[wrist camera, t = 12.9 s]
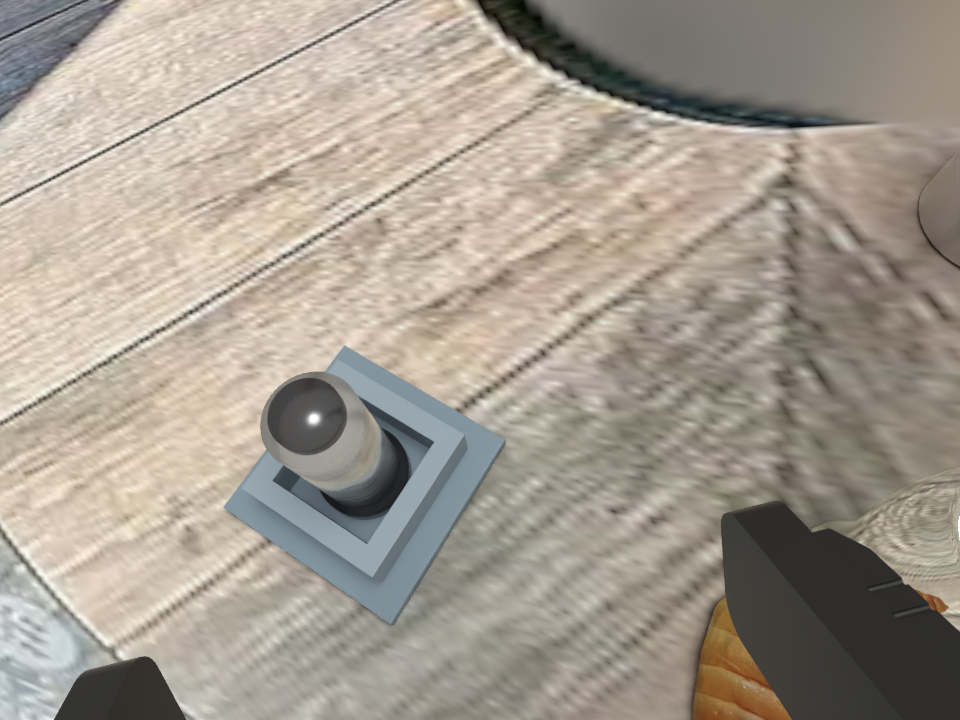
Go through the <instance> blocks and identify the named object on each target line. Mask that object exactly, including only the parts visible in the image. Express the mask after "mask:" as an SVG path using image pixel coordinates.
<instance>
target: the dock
mask: <svg viewBox="0 0 960 720" xmlns="http://www.w3.org/2000/svg"><path fill="white" fill-rule="evenodd" d="M325 373H330V374H333V375H336V376H338V377H340V378H341V379H343V380H344V381H346V382H347V383H348V384H349V385H350V386H351V388H352V389H353V390H354V391H355V393H356V394H357V396H358V397H359V398H360V400H361V401H362V402H363V404H364V405H365V407H366V408H367V409H368V411H369V412H370V414H371V415H372V416H373V418H374V419H375V420H376V422H377V423H378V425H379V426H380V427H381V428H383V429H385V430H387V431H389V432H390V433H392V434H393V435H394V436H395V437H396V438H397V439H398V440H399V442H400V443H401V445H402V446H403V448H404V449H405V451H406V452H407V454H408V457H409V459H410V463H411V469H412V475H411V478H410V480H409V481H408V483H407V484H406V486H405V487H404V489H403V490H402V492H401V493H400V495H399V496H398V498H397V499H396V501H395V502H394V504H393V505H392V507H391V508H390V510H389V512H388V513H387V514H385V515H383V516H381V517H378V518H374V519H368V520H361V519H355V518H351V517H348V516H346V515H344V514H342V513H341V512H339V511H338V510H336V509H335V508H333V507H332V506H331V505H330V504H329V503H328V502H327V501H326V500H325V499H324V497H323V496H322V494H321V492H320V489H318V488H317V487H315V486H314V485H312V484H311V483H309V482H308V481H306V480H305V479H304V478H302V477H301V476H299V475H298V474H296V473H295V472H293V471H292V470H290V469H289V468H287V467H286V466H284V465H283V464H281V463H280V462H278V461H277V460H276V459H274V458H273V457H272V456H271V455H270V453H269V452H268V450H266V451H265V452H264V454H263V455H262V456H261V458H260V459H259V460H258V462H257V463H256V464H255V466H254V467H253V468H252V470H251V471H250V472H249V474H248V475H247V476H246V478H245V479H244V480H243V482H242V483H241V484H240V486H239V487H238V488H237V490H236V491H235V492H234V494H233V495H232V496H231V498H230V499H229V500H228V502H227V503H226V504H225V506H224V507H223V508H225V509H226V510H228V511H229V512H231V513H232V514H233V515H235V516H236V517H238V518H239V519H241V520H242V521H243V522H245V523H246V524H248V525H249V526H251V527H252V528H253V529H255V530H256V531H258V532H259V533H261V534H262V535H263V536H265V537H266V538H268V539H269V540H271V541H272V542H273V543H275V544H276V545H278V546H279V547H281V548H282V549H283V550H285V551H286V552H288V553H289V554H291V555H292V556H293V557H295V558H296V559H298V560H299V561H301V562H302V563H303V564H305V565H306V566H308V567H309V568H311V569H312V570H313V571H315V572H316V573H318V574H319V575H321V576H322V577H323V578H325V579H326V580H328V581H329V582H331V583H332V584H333V585H335V586H336V587H338V588H339V589H341V590H342V591H343V592H345V593H346V594H348V595H349V596H350V597H352V598H353V599H355V600H356V601H358V602H359V603H360V604H362V605H363V606H365V607H366V608H368V609H369V610H370V611H372V612H373V613H375V614H376V615H378V616H379V617H380V618H382V619H383V620H385V621H386V622H388V623H389V624H391V625H394V623H395V622H396V620H397V618H398V617H399V615H400V614H401V612H402V610H403V609H404V607H405V605H406V604H407V602H408V601H409V599H410V597H411V596H412V594H413V593H414V591H415V589H416V588H417V586H418V584H419V583H420V581H421V580H422V578H423V576H424V575H425V573H426V572H427V570H428V568H429V567H430V565H431V563H432V562H433V560H434V559H435V557H436V555H437V554H438V552H439V550H440V549H441V547H442V546H443V544H444V542H445V541H446V539H447V538H448V536H449V534H450V533H451V531H452V529H453V528H454V526H455V525H456V523H457V521H458V520H459V518H460V517H461V515H462V513H463V512H464V510H465V508H466V507H467V505H468V504H469V502H470V500H471V499H472V497H473V496H474V494H475V492H476V491H477V489H478V487H479V486H480V484H481V483H482V481H483V479H484V478H485V476H486V474H487V473H488V471H489V470H490V468H491V466H492V465H493V463H494V462H495V460H496V458H497V457H498V455H499V453H500V452H501V450H502V449H503V447H504V445H505V439H503V438H502V437H500V436H498V435H496V434H495V433H493V432H491V431H490V430H488V429H486V428H484V427H483V426H481V425H479V424H478V423H476V422H474V421H472V420H471V419H469V418H467V417H466V416H464V415H462V414H461V413H459V412H457V411H455V410H454V409H452V408H450V407H449V406H447V405H445V404H443V403H442V402H440V401H438V400H437V399H435V398H433V397H431V396H430V395H428V394H426V393H425V392H423V391H421V390H419V389H418V388H416V387H414V386H413V385H411V384H409V383H407V382H406V381H404V380H402V379H401V378H399V377H397V376H396V375H394V374H392V373H390V372H389V371H387V370H385V369H384V368H382V367H380V366H378V365H377V364H375V363H373V362H372V361H370V360H368V359H366V358H365V357H363V356H361V355H360V354H358V353H356V352H354V351H353V350H351V349H349V348H348V347H346V346H344V347H343V348H342V350H341V351H340V352H339V354H338V355H337V356H336V358H335V359H334V360H333V362H332V363H331V364H330V366H329V367H328V368H327V370H326V371H325Z"/></svg>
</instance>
